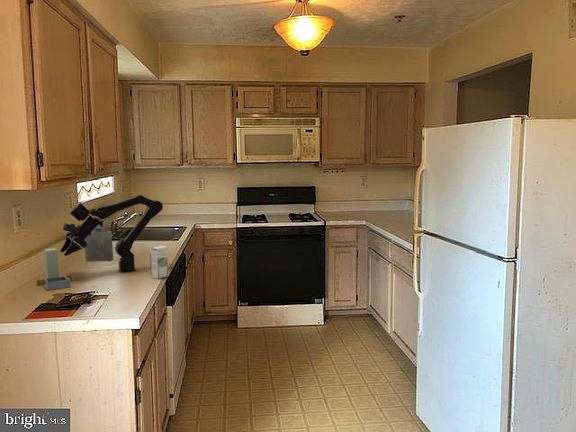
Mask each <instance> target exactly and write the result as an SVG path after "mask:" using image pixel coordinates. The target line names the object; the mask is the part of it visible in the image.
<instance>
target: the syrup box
mask: <svg viewBox="0 0 576 432" xmlns="http://www.w3.org/2000/svg"><path fill="white" fill-rule="evenodd" d="M168 254H169V253H168V246H166V245H163V244H160V245H154V246H150V247H149V260H150V261H149V263H150V264H149V265H150V269H149V270H150V277H151V278H153V279H157V280H159V279H165V278H167V277H169V266H168V265H169V263H168V261H169V259H168V258H169V257H168Z"/></svg>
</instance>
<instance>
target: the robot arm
mask: <svg viewBox="0 0 576 432" xmlns="http://www.w3.org/2000/svg"><path fill="white" fill-rule="evenodd" d="M139 204H141V205H143V206H146V208H145V211H144V214H142V216H141V217H140V218H139V220H138V221H137V223H135V224H134V227H132V229H131V230H130V231H129V233H128V234H127V235H126V237H124V238H122V237H120V238H119V239H118V241H117V242H116V243H115V247H114V251H115V253H116V254H117V255H118V256H120V257H119V261H118V271H120V272H122V273H127V272H133V271H135V272H136V270H137V269H136V267H135V264H136V263H135V254H134V253H133V252H132V250H131V249H132V247H133V245H134V243H135V241H136V239H137V238H138V237H139V236H140V234H141V233H142V232H143V230H144V229H146V226H147V225H148V224H149V223H150V222H151V220H152V219H153V218H154V217H156V216H157V215H158V214H159V213H160V212H161V211H163V208H164V207H163V203H162V202H161V201H160V200H157V199H150V198H147V197H145V196H143V195H141V194H136V195H135V196H132V197H129V198H125V199H123V200H120V201H117V202H115V203H111V204H104V205H99V206H96V207H95V208H94V209H93V208H92V209H87V207H86V206H84V204H83V203H81V202H79V203H78V204H77V205H76V206H74V207H73V208H71V210H70V212H69V214H70V215H71V216H72V217H73V218H74V219H76V220H77V221H78V222H81V221H82V223H81V225H80V224H78V225H77V226H76V224H74V223H70V224H69V223H67V222H65V223H64V224H63V225H62V226H63V227H62V228H61V230H63V231H65V232H66V233H65V234H64V239H65V241H64V243H63V245H62V247H61V248H60V250H59V252H60V253H63V255H64V256H65V257H66V256H70V255H71V254H73V253H75V252H78V251H80V250H83V249H85V247H86V246H87V242H85V239H86V238H87V237H88V236H89V235H91V232H92V231H94V230H96V229H95V228H96V227H101V228H103V227H104V221H103V220H105V219H107V218H109V217H111V216H112V215H114V214H115V213H117V212H120V211H122V210H126V209H127V208H130V207H133V206H136V205H139Z"/></svg>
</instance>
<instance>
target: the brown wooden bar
mask: <svg viewBox="0 0 576 432" xmlns="http://www.w3.org/2000/svg"><path fill="white" fill-rule="evenodd" d="M62 276H66V277H67V278H69V279H70V282H72V281H73V278H72V277H73V275H72V274H65V275H59V276H57V277H62ZM50 278H54V277H50ZM43 279H47V278H46V277H44V278H43V277H42V278H36V286H37V287H38V286H44V280H43Z"/></svg>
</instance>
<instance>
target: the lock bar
mask: <svg viewBox="0 0 576 432" xmlns="http://www.w3.org/2000/svg"><path fill="white" fill-rule="evenodd" d="M44 262H45V278H50V277H57V276H60V271H59V270H60V269H59V255H58V249H57V248H55V247H54V248H44Z"/></svg>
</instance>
